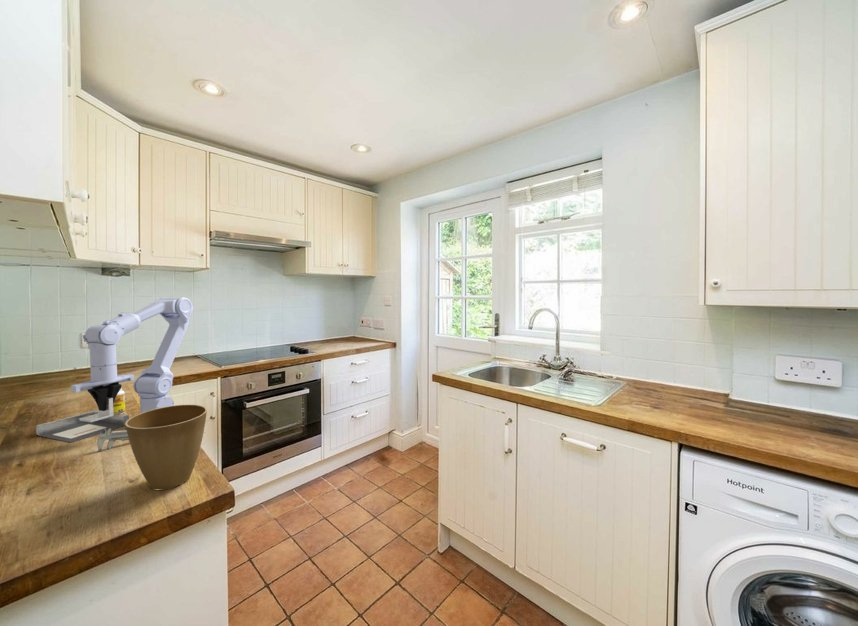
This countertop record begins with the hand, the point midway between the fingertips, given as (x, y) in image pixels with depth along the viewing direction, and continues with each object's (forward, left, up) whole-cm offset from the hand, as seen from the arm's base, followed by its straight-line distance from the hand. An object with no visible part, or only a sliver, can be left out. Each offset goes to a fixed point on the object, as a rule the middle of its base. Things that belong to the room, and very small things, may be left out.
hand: (105, 409), depth 102 cm
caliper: (-12, -3, -9) cm, 15 cm away
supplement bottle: (+22, -15, -9) cm, 28 cm away
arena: (+15, -2, -9) cm, 17 cm away
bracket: (0, +2, -2) cm, 3 cm away
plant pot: (-43, +12, -9) cm, 45 cm away
